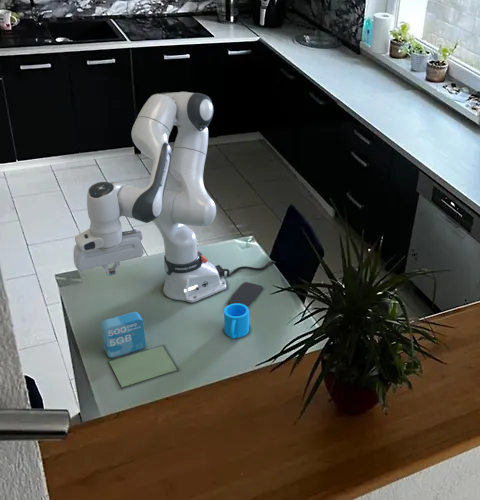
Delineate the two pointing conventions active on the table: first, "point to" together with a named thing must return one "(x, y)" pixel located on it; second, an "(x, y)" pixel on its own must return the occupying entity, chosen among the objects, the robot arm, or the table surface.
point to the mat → (142, 366)
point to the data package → (123, 334)
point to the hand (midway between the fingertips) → (111, 274)
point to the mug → (236, 320)
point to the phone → (245, 294)
